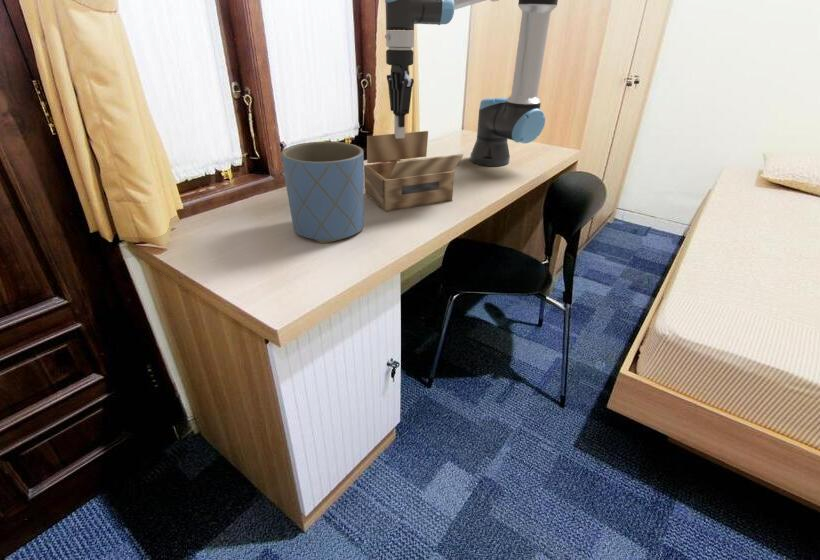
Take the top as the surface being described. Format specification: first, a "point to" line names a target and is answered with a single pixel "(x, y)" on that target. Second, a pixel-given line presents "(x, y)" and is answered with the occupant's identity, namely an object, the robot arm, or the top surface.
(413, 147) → the far flap
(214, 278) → the top surface
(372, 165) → the carton
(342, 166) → the planter
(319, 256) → the top surface
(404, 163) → the near flap
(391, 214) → the top surface
